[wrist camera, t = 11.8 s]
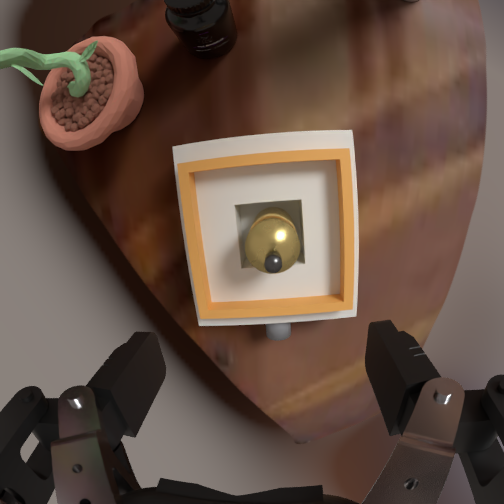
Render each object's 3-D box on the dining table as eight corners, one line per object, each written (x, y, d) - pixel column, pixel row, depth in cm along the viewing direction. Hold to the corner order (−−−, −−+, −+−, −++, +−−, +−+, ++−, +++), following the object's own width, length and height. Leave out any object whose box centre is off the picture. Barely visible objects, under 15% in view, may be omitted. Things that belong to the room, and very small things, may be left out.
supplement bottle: (215, 69, 30) (187, 27, 18) (175, 46, 29) (137, 5, 17) (249, 32, 28) (238, -20, 16) (209, 11, 27) (185, -38, 16)
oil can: (251, 208, 32) (240, 225, 22) (292, 205, 32) (300, 221, 22) (254, 248, 33) (245, 281, 23) (294, 245, 33) (302, 278, 23)
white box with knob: (189, 150, 33) (165, 145, 25) (339, 136, 31) (357, 127, 23) (213, 322, 39) (199, 356, 31) (344, 314, 37) (358, 347, 29)
